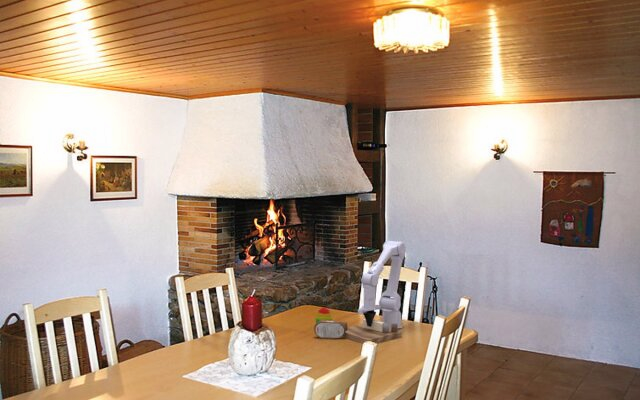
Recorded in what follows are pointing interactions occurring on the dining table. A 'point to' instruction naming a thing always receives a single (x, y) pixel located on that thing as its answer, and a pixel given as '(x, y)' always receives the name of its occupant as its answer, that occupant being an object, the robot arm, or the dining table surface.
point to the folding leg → (377, 326)
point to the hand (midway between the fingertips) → (369, 326)
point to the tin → (330, 329)
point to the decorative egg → (323, 315)
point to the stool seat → (371, 334)
